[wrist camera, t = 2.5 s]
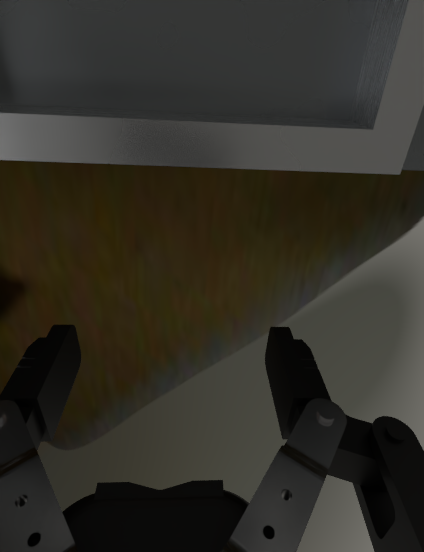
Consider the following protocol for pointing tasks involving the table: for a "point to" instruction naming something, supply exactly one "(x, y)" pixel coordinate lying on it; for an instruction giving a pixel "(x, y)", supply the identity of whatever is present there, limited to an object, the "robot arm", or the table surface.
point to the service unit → (214, 83)
